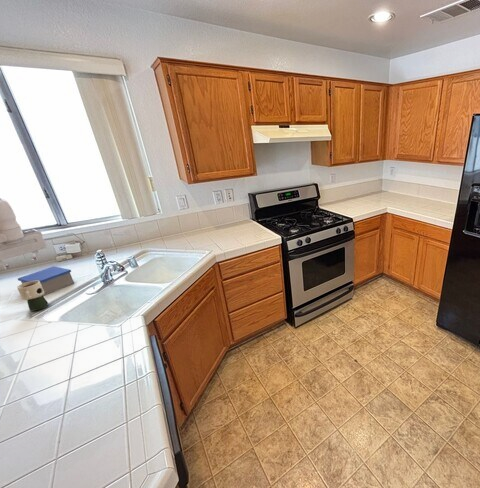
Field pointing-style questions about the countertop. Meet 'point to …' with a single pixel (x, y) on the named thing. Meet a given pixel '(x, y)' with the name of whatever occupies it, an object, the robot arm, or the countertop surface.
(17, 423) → the countertop surface
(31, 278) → the storage tub
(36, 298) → the character mug
